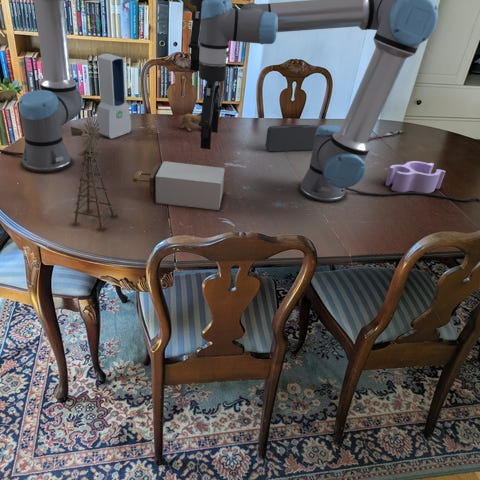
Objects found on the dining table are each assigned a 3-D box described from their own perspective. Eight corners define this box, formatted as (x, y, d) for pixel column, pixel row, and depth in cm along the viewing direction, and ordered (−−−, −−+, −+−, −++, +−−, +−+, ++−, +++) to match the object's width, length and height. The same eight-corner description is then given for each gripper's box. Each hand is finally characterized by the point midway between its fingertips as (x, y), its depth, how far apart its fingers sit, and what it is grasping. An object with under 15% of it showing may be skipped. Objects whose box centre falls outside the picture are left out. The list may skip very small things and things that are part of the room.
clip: (398, 195, 164) (404, 177, 160) (379, 179, 174) (383, 162, 170) (444, 191, 170) (450, 174, 166) (423, 176, 180) (428, 160, 176)
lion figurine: (209, 126, 205) (210, 106, 200) (212, 130, 201) (214, 110, 196) (176, 127, 200) (177, 107, 195) (179, 132, 196) (180, 111, 191)
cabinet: (155, 203, 144) (155, 176, 139) (163, 186, 153) (163, 161, 148) (218, 210, 144) (220, 183, 139) (222, 193, 153) (224, 168, 148)
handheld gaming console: (315, 147, 196) (319, 124, 190) (317, 149, 194) (322, 126, 188) (264, 149, 189) (267, 125, 183) (266, 152, 187) (269, 127, 181)
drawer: (131, 196, 144) (130, 175, 140) (139, 182, 152) (138, 161, 149) (208, 205, 144) (210, 184, 140) (212, 190, 152) (213, 170, 148)
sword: (399, 131, 224) (400, 128, 223) (404, 133, 222) (405, 130, 221) (355, 142, 208) (356, 139, 207) (360, 144, 206) (361, 142, 205)
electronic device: (109, 139, 182) (104, 59, 166) (96, 134, 185) (89, 55, 169) (132, 131, 192) (129, 55, 175) (118, 127, 195) (114, 51, 178)
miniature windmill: (101, 230, 128) (92, 124, 112) (72, 224, 129) (59, 119, 113) (115, 214, 135) (109, 113, 119) (88, 209, 136) (78, 108, 120)
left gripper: (207, -4, 126) (203, 76, 138) (221, -12, 147) (216, 59, 159) (180, -8, 127) (178, 73, 138) (197, -14, 148) (195, 56, 159)
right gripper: (220, 76, 113) (215, 157, 124) (233, 55, 134) (227, 127, 145) (190, 72, 113) (188, 154, 125) (207, 52, 134) (204, 124, 146)
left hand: (198, 65), depth 148 cm, fingers open, 13 cm apart
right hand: (209, 139), depth 135 cm, fingers open, 13 cm apart
